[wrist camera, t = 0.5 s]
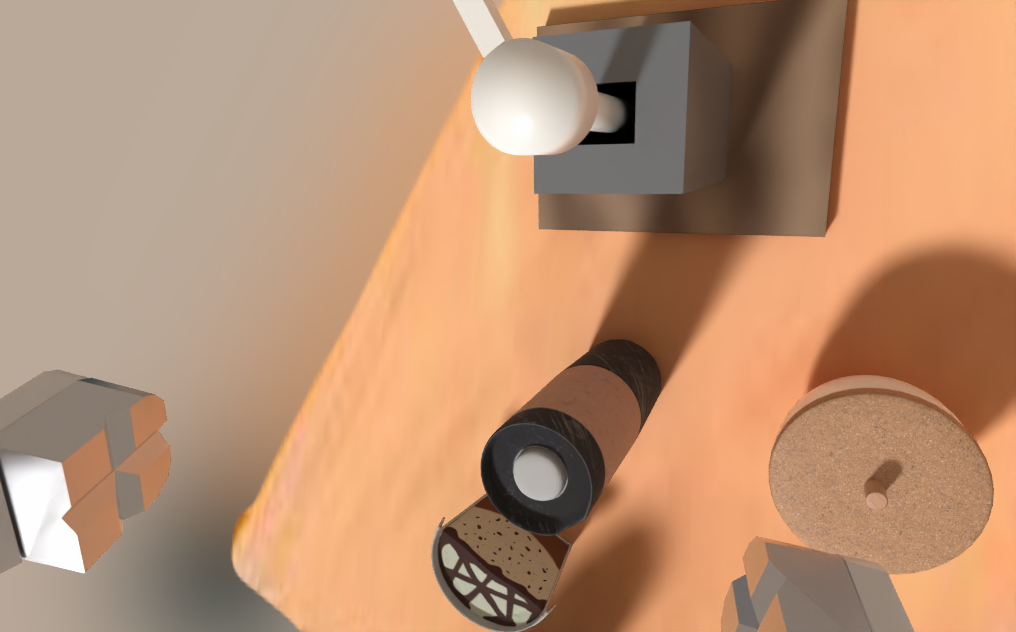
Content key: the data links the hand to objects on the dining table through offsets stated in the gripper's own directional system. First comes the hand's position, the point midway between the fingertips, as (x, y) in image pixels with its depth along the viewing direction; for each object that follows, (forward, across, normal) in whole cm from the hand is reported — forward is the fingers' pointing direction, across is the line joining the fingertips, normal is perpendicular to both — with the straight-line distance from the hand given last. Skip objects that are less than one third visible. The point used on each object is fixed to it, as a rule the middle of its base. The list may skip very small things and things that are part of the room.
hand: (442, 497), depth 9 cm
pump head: (+31, -1, -2) cm, 31 cm away
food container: (+42, -2, +43) cm, 60 cm away
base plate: (+46, -7, +2) cm, 47 cm away
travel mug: (+43, -7, +23) cm, 50 cm away
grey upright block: (+45, -6, +2) cm, 45 cm away
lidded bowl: (+38, -25, +20) cm, 50 cm away
